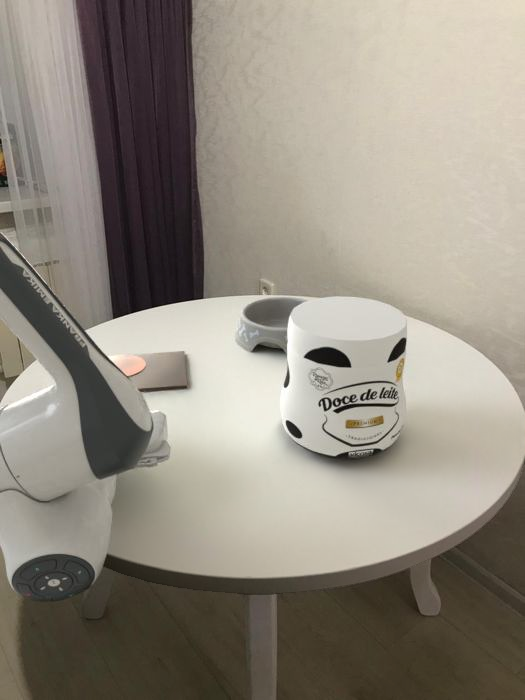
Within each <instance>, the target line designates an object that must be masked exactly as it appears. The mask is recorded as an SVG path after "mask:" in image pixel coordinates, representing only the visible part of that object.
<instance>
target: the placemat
mask: <svg viewBox="0 0 525 700" xmlns="http://www.w3.org/2000/svg"><path fill="white" fill-rule="evenodd" d="M106 356H107V357H108V358H109V359H110V360H111V361H112V362H113V363H114V364H115V365H116V366H117V367H118V368H119V369H120V370H121V371H122V372H123V373H124V374H125V375H126V376H127V377H128V378H129V379H130V380H131V381H132V383H133V384H134V385H135V386H136V387H137V389H138V390H139V391H140V393H144V392H157V391H158V392H159V391H170V390H181V389H185V390H186V389H188V379H187V367H186V354H185V350H179V351H177V350H176V351H165V352H164V351H163V352H149V353H135V354H119V355H106Z"/></svg>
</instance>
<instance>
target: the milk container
mask: <svg viewBox="0 0 525 700" xmlns="http://www.w3.org/2000/svg"><path fill="white" fill-rule="evenodd" d="M407 318H408V317H406V316H405V314H404V313H403V312H402V311H401V310H400V309H398V308H396V307H394V306H393V305H390V304H389V303H385V302H382V301H379V300H375V299H372V298H365V297H357V296H336V295H335V296H325V297H317V298H314V299H310V300H308V301H306V302H303V303H301V304H300V305H298V306H296V307H295V308H294V309H293V310H292V312H291V314H290V317H289V322H288V330H287V336H288V343H287V355H286V356H287V361H286V362H287V366H286V368H287V369H286V375H285V379H284V382H283V385H282V387H281V390H280V391H281V392H280V395H279V411H280V412H279V413H280V419H281V422H282V426H283V428H284V430H285V432H286V434H287V435H288V437H289V438H290V439H291V440H292V441H293V442H294V443H296V444H297V445H298V446H300V447H301V448H303V449H306V450H307V451H310V452H312V453H313V454H317V455H319V456H325V457H328V458H332V459H351V460H354V459H359V458H366V457H371V456H374V455H377V454H379V453H381V452H383V451H385V450H387V449H389V448H390V447H391V446H392V445H393V444H394V443H395V442H396V441H397V439H398V438H399V436H400V434H401V432H402V429H403V426H404V424H405V419H406V413H407V399H406V395H405V389H404V369H405V364H406V358H407V357H406V355H407V340H408V319H407Z"/></svg>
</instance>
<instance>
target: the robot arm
mask: <svg viewBox="0 0 525 700" xmlns="http://www.w3.org/2000/svg"><path fill="white" fill-rule="evenodd" d="M0 319H1V320H2V321H3V322H4V324H5V325H6V326H7V327H8V328H9V329H10V330H11V332H12V333H13V335H15V336H16V337H17V339H18V340H19V341H20V342H21V343H22V344H23V346H25V348H26V349H27V350H28V351H29V352H30V353H31V354H32V356H33V357H34V358H35V359H36V361H37V362H38V363H39V364H40V365H41V367H42V368H43V369H44V370H45V371H46V372H47V373H48V374H49V376H50V377H51V378H52V379H53V381H54V382H55V383H53V384H52V385H50V386H47V387H46V388H43V389H41V390H39V391H37V392H35V393H32V394H30V395H28V396H26V397H24V398H21V399H19V400H17V401H15V402H13V403H10V404H6V405H4V406H2V407H0V549H1V551H2V555H3V558H4V563H5V571H6V572H5V573H6V577H7V581H8V583H9V586H10V587H11V588H12V589H13V591H14V592H15V593H16V594H17V595H19V596H20V597H22V598H24V599H26V600H29V601H33V602H40V603H55V602H60V601H65V600H67V599H70V598H73V597H75V596H77V595H80V594H81V593H83V592H85V591H87V590H88V589H89V588H91V587H92V586H93V585H94V584H95V582H96V581H97V580H98V578H99V576H100V574H101V572H102V570H103V567H104V564H105V561H106V558H107V554H108V549H109V545H110V540H111V533H112V526H113V510H112V509H113V508H112V504H113V502H114V499H115V494H116V488H117V479H118V475H119V474H122V473H125V472H127V471H131V470H133V469H142V468H155V467H158V465H159V464H161V463H164V462H166V461H168V460H169V459H170V457H171V453H172V452H171V445H170V443H169V441H168V436H169V434H168V419H167V415H166V414H165V413H164V412H162V411H160V410H150V408H149V406H148V403H147V400H146V399H145V397H144V395H143V394H142V392H140V391H139V390H138V389H137V387H136V386H135V385H134V384H133V383H132V381H131V380H130V379H129V378H128V377H127V376H126V375H125V374H124V373H123V372H122V371H121V370H120V369H119V368H118V367H117V366H116V365H115V364H114V363H113V362H112V361H111V360H110V359H109V358H108V357H107V356H108V355H107V354H105V353H104V352H103V350H102V349H101V348H100V347H99V346H98V345H97V343H96V342H95V341H94V340H93V339H92V337H91V336H90V335H89V334H88V333H87V331H86V330H85V329H84V328H83V326H82V325H81V324H80V323H79V321H78V320H77V319H76V318H75V317H74V316H73V314H72V313H71V312H70V311H69V309H68V308H67V307H66V305H65V304H64V303H63V302H62V301H61V300H60V298H59V297H58V296H57V294H55V292H54V291H53V290H52V289H51V287H50V286H49V285H48V284H47V282H46V281H45V280H44V279H43V278H42V276H41V275H40V274H39V273H38V271H37V270H36V269H35V268H34V267H33V266H32V265H31V264H30V262H29V261H28V260H27V258H26V257H25V256H24V255H23V254H22V253H21V252H20V251H19V250H18V249H17V247H16V246H15V245H14V244H13V243H12V242H11V241H10V240H9V238H8V237H7V236H6V235H5V234H3V232H2V231H0Z"/></svg>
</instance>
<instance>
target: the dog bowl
mask: <svg viewBox="0 0 525 700" xmlns="http://www.w3.org/2000/svg"><path fill="white" fill-rule="evenodd" d="M306 301H309V300H308V299H304V298H298V297H291V296H274V297H273V296H272V297H265V298H261V299H257V300H254V301H251V302H249V303H247V304H246V305H244V306H243V308H242V309H241V311H240V314H239V318H238V322H237V328H236V331H235V335H234V337H235V342H236V343H237V344H238V345H239V346H240V347H241V348H242V349H244V351H247V352H249V353H250V352H251V353H252V352H253V350H254V349H255V347H256V346H257V345H261V346H264V347H268V348H273V349H282V350H283V351H284V353H285V355H286V356H287V343H288V336H287V330H288V322H289V317H290V314H291V312H292V310H293V309H294V308H295V307H296V306H298V305H300V304H301V303H303V302H306Z"/></svg>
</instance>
